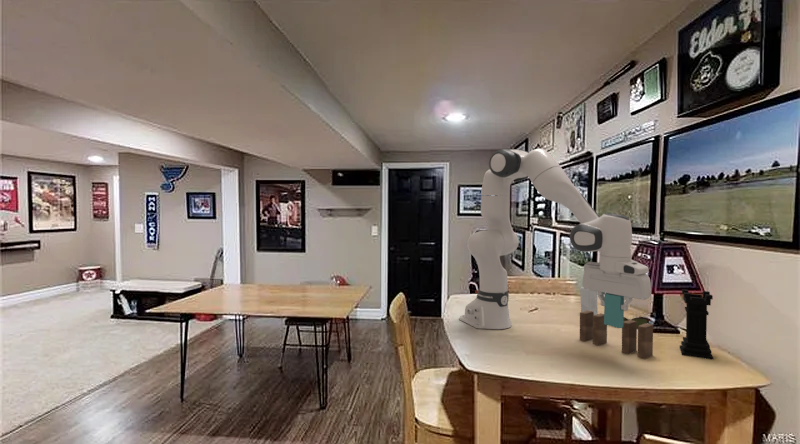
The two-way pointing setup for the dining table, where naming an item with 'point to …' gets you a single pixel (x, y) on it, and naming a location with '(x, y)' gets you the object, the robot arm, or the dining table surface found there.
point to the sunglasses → (639, 320)
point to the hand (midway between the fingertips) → (614, 308)
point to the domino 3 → (613, 310)
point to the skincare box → (588, 300)
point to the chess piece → (696, 325)
